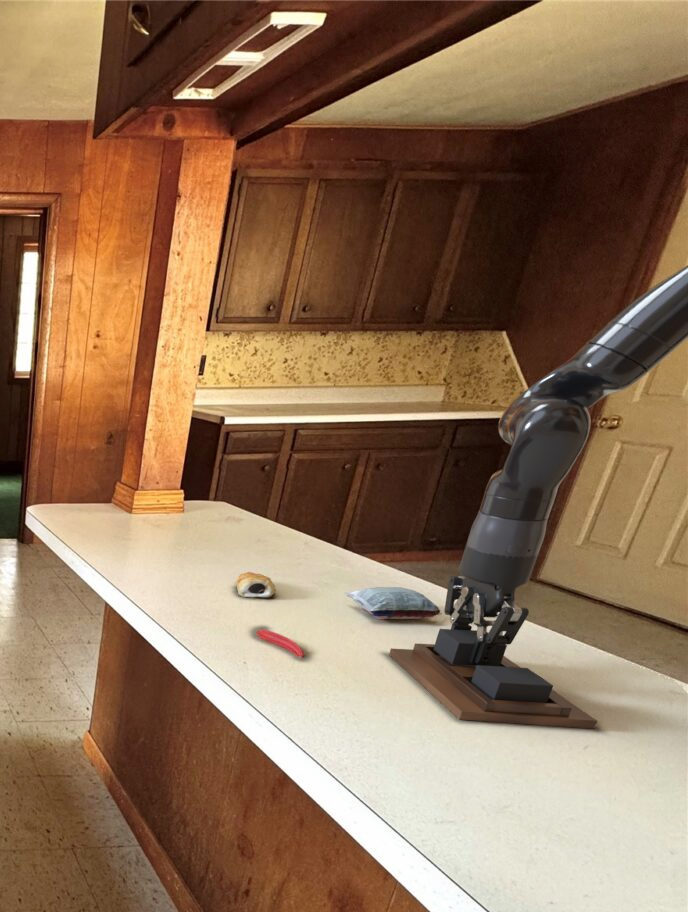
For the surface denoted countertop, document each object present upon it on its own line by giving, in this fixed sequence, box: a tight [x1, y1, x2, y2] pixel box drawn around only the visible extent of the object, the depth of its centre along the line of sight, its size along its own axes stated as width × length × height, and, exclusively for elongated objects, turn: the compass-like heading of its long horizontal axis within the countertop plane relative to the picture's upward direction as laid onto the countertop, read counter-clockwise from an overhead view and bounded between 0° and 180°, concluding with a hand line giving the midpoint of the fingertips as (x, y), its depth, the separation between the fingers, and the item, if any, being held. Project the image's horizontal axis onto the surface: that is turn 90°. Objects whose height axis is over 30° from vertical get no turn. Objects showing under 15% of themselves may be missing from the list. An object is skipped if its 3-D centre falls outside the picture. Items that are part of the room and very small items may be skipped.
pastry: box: [235, 571, 276, 599], centre depth 130 cm, size 9×7×4 cm
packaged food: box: [344, 586, 442, 620], centre depth 117 cm, size 9×12×5 cm
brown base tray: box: [388, 643, 598, 730], centre depth 94 cm, size 15×19×2 cm
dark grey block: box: [471, 665, 554, 703], centre depth 89 cm, size 6×5×4 cm
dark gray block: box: [434, 628, 508, 666], centre depth 97 cm, size 6×5×4 cm
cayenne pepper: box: [256, 627, 306, 659], centre depth 109 cm, size 12×5×2 cm, turn 175°
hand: (466, 655), depth 97 cm, fingers closed on dark gray block, 5 cm apart
